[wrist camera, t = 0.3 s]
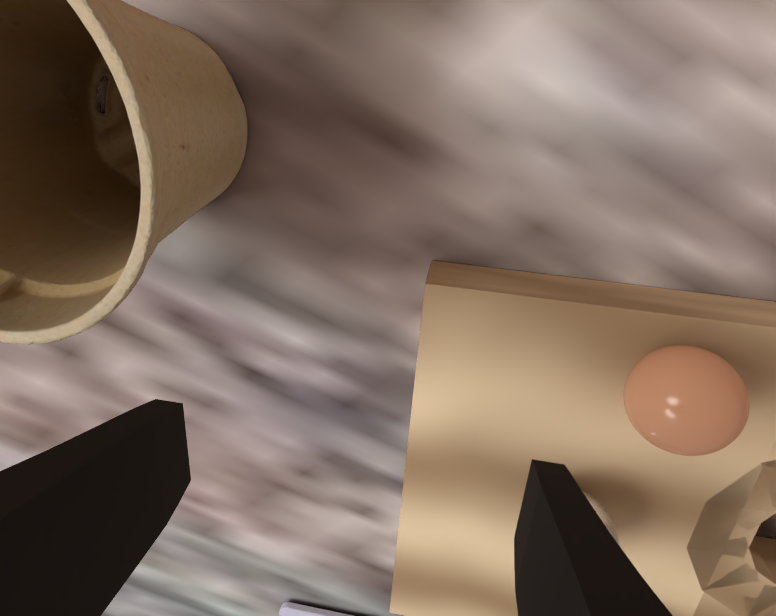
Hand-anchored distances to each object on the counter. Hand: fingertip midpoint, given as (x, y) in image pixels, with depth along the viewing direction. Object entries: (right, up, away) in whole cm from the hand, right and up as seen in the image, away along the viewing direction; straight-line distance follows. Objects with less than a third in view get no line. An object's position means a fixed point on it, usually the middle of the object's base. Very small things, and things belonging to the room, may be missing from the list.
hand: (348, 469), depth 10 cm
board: (+12, -4, +10) cm, 16 cm away
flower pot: (-7, +10, +8) cm, 15 cm away
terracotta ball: (+10, +1, +5) cm, 11 cm away
